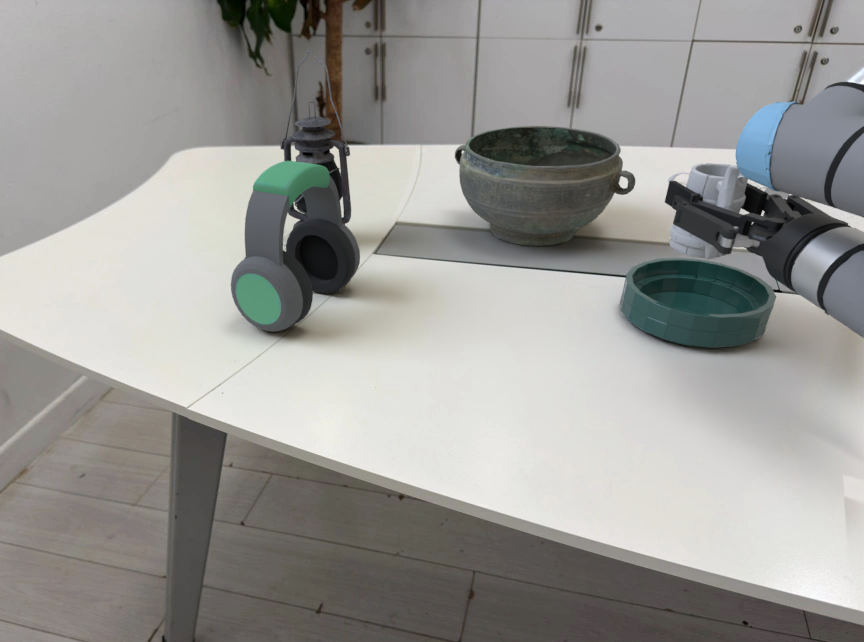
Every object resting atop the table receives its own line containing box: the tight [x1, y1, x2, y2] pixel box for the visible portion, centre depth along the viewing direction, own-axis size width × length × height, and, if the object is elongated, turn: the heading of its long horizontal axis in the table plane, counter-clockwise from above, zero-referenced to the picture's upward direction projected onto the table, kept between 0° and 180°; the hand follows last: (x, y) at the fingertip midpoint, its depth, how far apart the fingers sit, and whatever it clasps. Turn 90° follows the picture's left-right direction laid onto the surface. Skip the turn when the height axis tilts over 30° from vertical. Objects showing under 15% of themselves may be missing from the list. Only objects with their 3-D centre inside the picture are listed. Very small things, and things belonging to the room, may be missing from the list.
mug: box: [669, 162, 749, 260], centre depth 81 cm, size 8×12×12 cm, turn 165°
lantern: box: [279, 49, 352, 229], centre depth 108 cm, size 12×11×30 cm
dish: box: [619, 257, 777, 349], centre depth 88 cm, size 18×18×5 cm
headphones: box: [230, 160, 361, 333], centre depth 90 cm, size 19×11×20 cm, turn 151°
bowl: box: [454, 125, 636, 247], centre depth 114 cm, size 32×26×15 cm
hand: (700, 189), depth 85 cm, fingers closed on mug, 7 cm apart
